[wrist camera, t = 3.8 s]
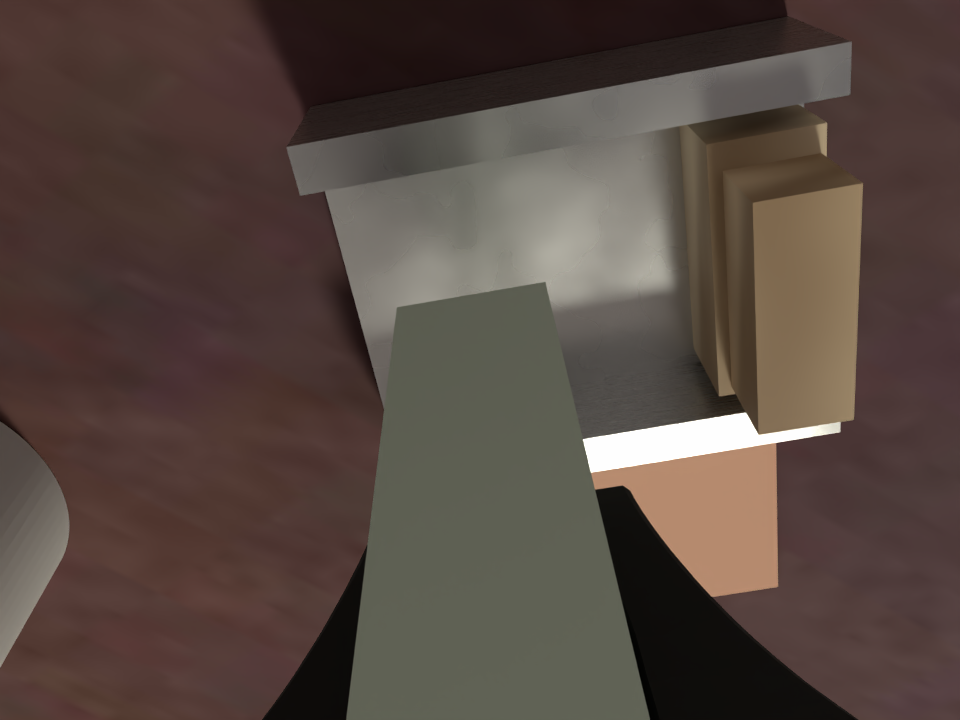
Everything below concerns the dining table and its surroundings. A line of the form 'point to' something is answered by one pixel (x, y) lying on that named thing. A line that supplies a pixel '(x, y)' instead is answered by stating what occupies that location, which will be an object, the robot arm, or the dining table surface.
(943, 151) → the dining table surface
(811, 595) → the dining table surface
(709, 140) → the offcut stack
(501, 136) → the rack
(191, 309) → the dining table surface
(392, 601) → the sage green tall pillar
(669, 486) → the mat
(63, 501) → the cup
